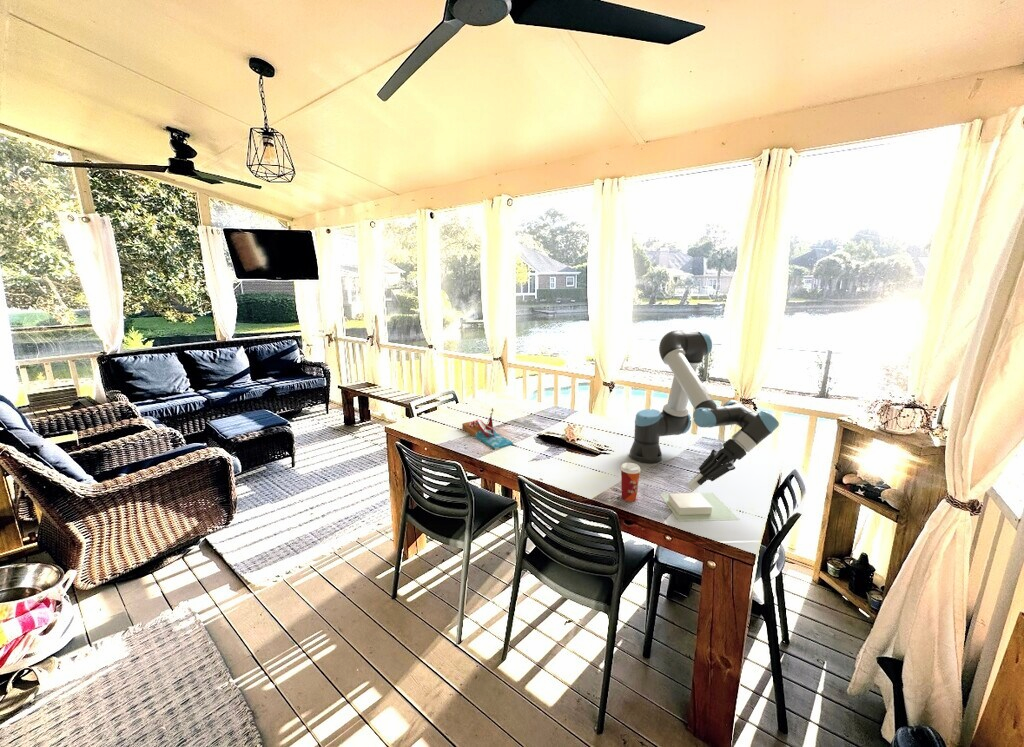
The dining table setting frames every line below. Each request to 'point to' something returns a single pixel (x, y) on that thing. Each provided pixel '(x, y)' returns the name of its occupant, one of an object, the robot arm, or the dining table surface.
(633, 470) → the paper cup
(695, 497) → the pale orange box
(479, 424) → the sailboat model
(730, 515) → the rubber mat
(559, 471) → the dining table surface
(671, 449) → the dining table surface
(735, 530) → the dining table surface
